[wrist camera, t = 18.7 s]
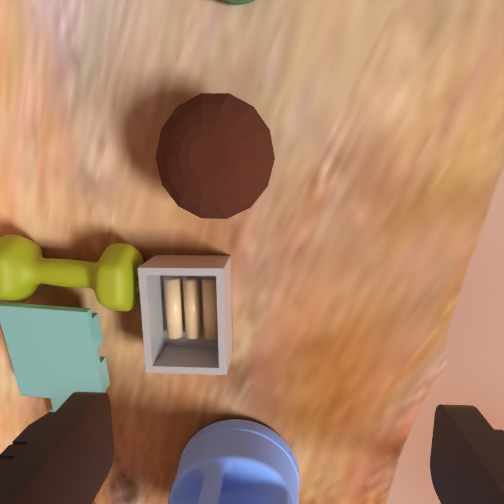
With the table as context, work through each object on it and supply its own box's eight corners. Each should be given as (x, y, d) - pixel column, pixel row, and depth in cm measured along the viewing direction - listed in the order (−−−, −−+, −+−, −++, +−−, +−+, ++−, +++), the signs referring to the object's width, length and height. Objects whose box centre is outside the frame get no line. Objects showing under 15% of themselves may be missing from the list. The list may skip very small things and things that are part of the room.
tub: (155, 254, 47) (137, 267, 41) (230, 255, 46) (223, 268, 40) (161, 347, 49) (145, 372, 43) (233, 349, 49) (226, 374, 43)
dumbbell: (20, 289, 49) (-24, 310, 42) (16, 226, 47) (-30, 237, 40) (148, 302, 48) (126, 325, 41) (149, 238, 47) (126, 252, 40)
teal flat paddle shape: (13, 293, 46) (-5, 305, 43) (99, 299, 44) (86, 312, 42) (45, 418, 53) (32, 434, 51) (121, 426, 52) (111, 444, 49)
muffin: (259, 222, 45) (253, 238, 35) (166, 198, 45) (134, 207, 35) (286, 116, 42) (288, 102, 33) (187, 91, 42) (159, 69, 33)
